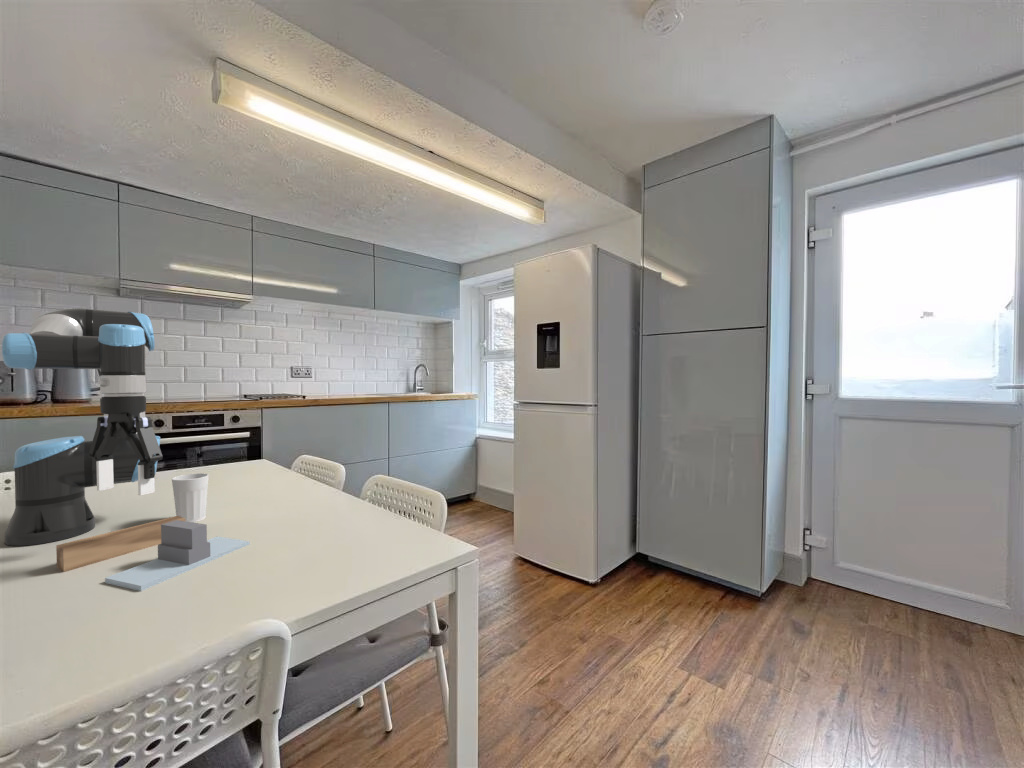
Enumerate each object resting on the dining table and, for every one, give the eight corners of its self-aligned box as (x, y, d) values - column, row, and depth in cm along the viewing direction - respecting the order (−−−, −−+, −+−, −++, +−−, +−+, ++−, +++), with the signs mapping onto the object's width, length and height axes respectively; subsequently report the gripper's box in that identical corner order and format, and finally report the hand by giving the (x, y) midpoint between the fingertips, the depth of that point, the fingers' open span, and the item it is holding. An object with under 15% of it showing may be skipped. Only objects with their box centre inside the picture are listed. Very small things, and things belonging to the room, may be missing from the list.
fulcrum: (105, 583, 81) (104, 541, 81) (217, 540, 102) (216, 506, 102) (141, 591, 78) (140, 547, 78) (249, 545, 99) (249, 511, 99)
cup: (169, 528, 111) (168, 481, 110) (176, 518, 118) (175, 475, 117) (206, 523, 114) (206, 478, 114) (211, 514, 121) (210, 471, 121)
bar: (56, 569, 88) (56, 545, 87) (177, 536, 106) (177, 515, 106) (63, 574, 86) (63, 549, 85) (185, 539, 104) (185, 518, 104)
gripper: (66, 395, 95) (68, 491, 96) (143, 396, 87) (145, 500, 88) (107, 394, 102) (108, 483, 103) (181, 394, 95) (183, 491, 95)
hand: (125, 491), depth 95 cm, fingers open, 13 cm apart
